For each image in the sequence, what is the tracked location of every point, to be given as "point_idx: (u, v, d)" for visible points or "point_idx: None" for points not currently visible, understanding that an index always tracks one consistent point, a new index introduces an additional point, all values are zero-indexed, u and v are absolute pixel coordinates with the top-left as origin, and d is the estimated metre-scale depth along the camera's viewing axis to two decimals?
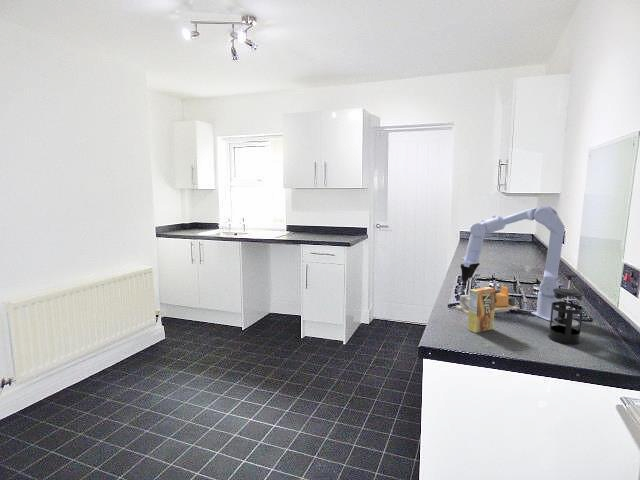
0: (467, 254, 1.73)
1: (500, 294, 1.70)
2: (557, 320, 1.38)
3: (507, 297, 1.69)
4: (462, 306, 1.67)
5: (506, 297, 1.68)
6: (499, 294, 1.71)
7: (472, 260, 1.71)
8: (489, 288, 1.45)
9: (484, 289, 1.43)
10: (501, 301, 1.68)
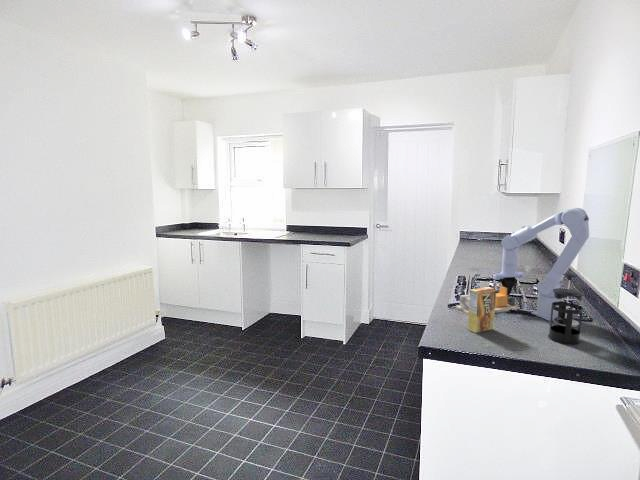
0: None
1: (499, 294, 1.70)
2: (557, 320, 1.38)
3: (506, 297, 1.68)
4: (462, 306, 1.67)
5: (505, 297, 1.68)
6: (497, 294, 1.71)
7: (505, 273, 1.68)
8: (489, 288, 1.45)
9: (484, 289, 1.43)
10: (500, 301, 1.68)
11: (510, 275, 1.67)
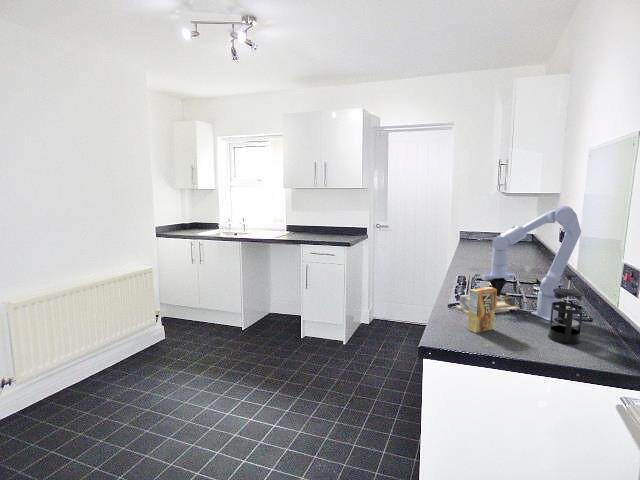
0: (491, 268, 1.69)
1: None
2: (557, 320, 1.38)
3: (495, 298, 1.67)
4: (462, 306, 1.67)
5: None
6: None
7: (494, 274, 1.66)
8: (489, 288, 1.45)
9: (484, 289, 1.43)
10: None
11: (499, 276, 1.65)
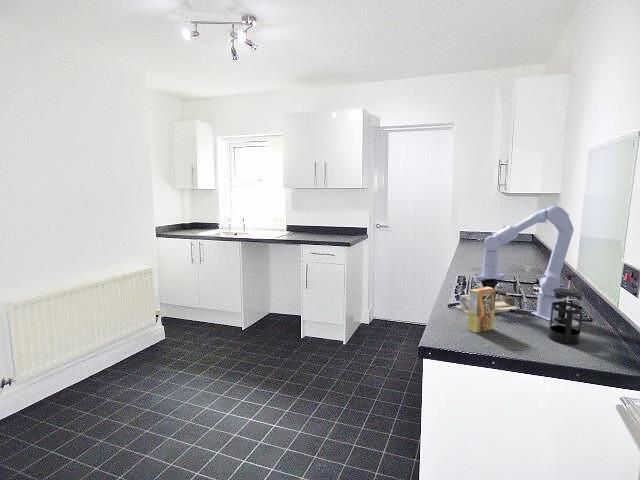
0: None
1: None
2: (557, 320, 1.38)
3: None
4: (462, 306, 1.67)
5: None
6: None
7: (485, 275, 1.65)
8: (489, 288, 1.45)
9: (484, 289, 1.43)
10: None
11: (491, 277, 1.64)
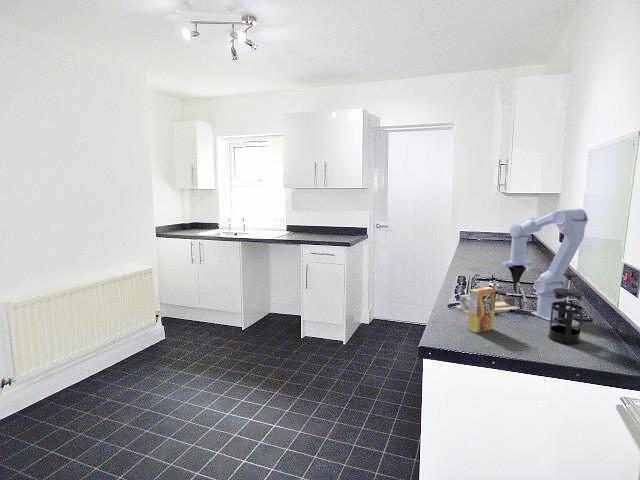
0: None
1: None
2: (557, 320, 1.38)
3: None
4: (462, 306, 1.67)
5: None
6: None
7: (514, 261, 1.73)
8: (489, 288, 1.45)
9: (484, 289, 1.43)
10: None
11: (519, 263, 1.71)
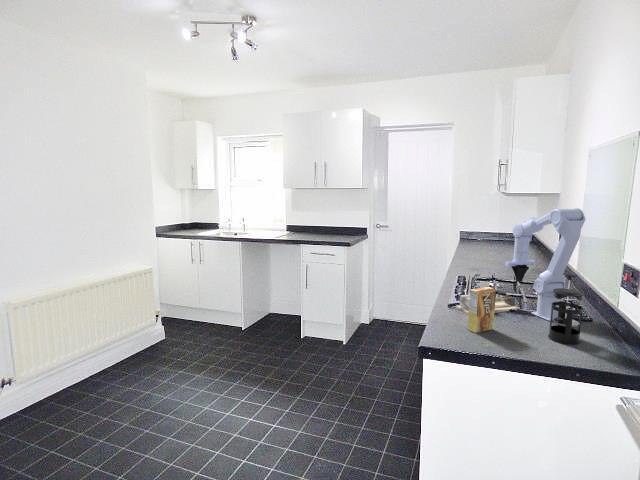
0: None
1: None
2: (557, 320, 1.38)
3: None
4: (462, 306, 1.67)
5: None
6: None
7: (517, 261, 1.74)
8: (489, 288, 1.45)
9: (484, 289, 1.43)
10: None
11: (522, 262, 1.72)
